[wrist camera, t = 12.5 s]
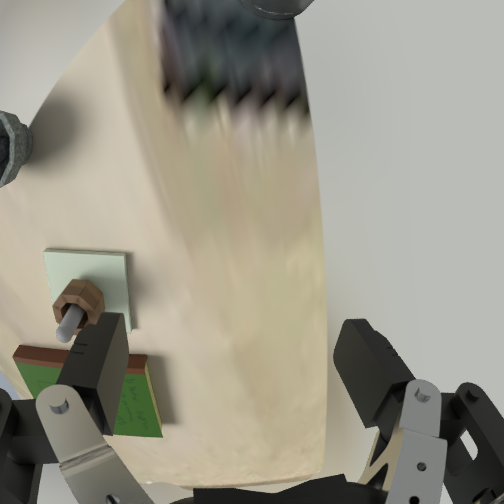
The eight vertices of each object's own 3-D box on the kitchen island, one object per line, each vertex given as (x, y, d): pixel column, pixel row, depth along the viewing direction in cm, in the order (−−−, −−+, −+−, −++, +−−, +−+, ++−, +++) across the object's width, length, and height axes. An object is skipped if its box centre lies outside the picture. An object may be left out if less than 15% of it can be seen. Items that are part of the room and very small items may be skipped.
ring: (61, 278, 35) (49, 293, 31) (101, 280, 36) (92, 296, 32) (68, 316, 37) (59, 333, 34) (107, 319, 38) (99, 337, 35)
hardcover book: (146, 352, 44) (144, 368, 41) (163, 422, 52) (162, 437, 48) (17, 342, 41) (9, 356, 37) (51, 411, 48) (46, 424, 44)
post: (46, 248, 35) (6, 287, 25) (125, 253, 37) (101, 297, 27) (59, 322, 40) (33, 369, 30) (132, 329, 42) (117, 383, 32)
